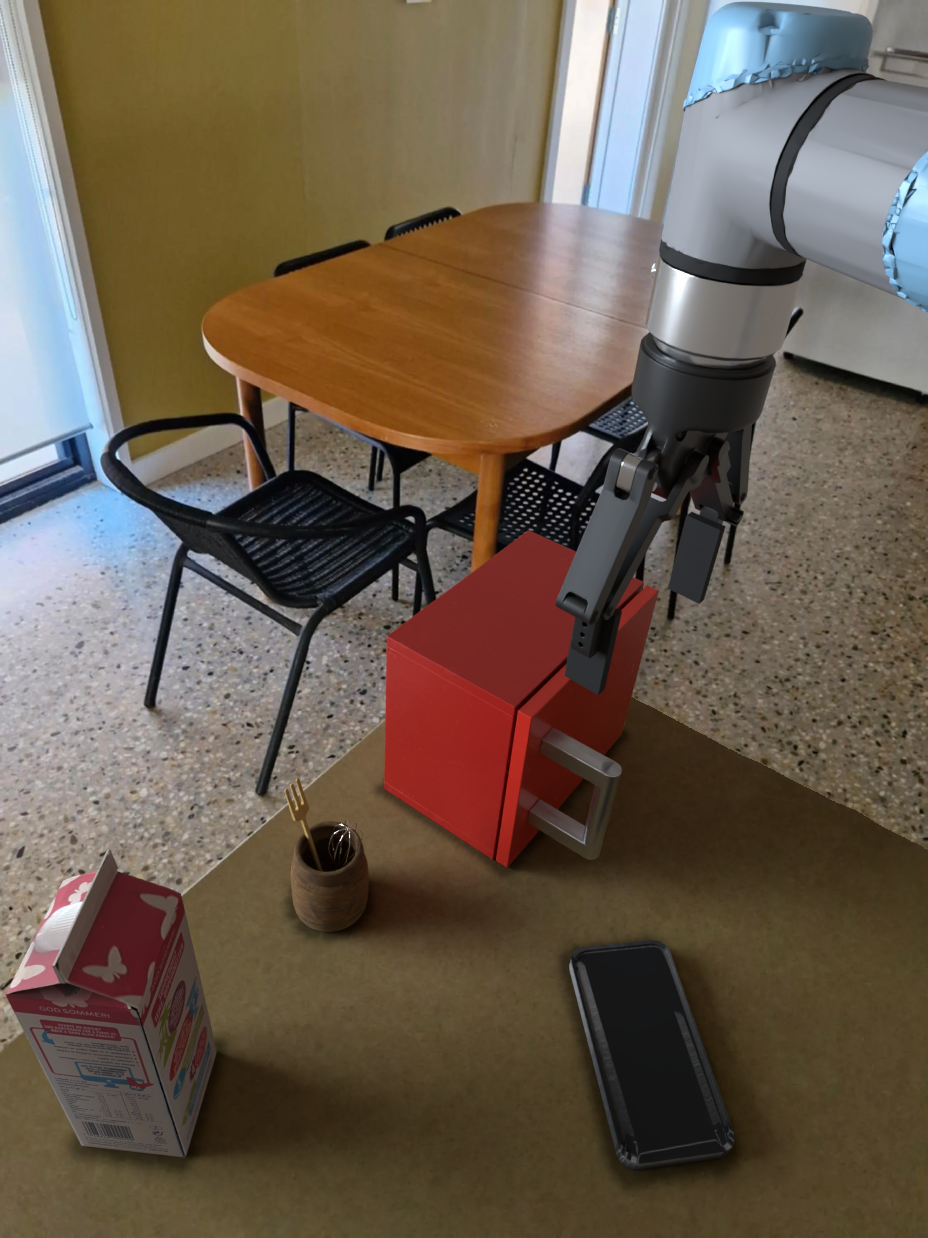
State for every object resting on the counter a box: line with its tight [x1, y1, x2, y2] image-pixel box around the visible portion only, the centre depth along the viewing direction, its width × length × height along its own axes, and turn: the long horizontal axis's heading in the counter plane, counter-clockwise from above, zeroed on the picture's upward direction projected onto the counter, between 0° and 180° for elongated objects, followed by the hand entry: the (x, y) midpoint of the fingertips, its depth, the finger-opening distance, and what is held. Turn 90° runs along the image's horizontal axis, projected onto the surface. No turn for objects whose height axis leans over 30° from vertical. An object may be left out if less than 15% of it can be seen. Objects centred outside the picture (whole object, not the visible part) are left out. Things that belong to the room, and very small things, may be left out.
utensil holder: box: [284, 777, 370, 933], centre depth 67 cm, size 6×6×12 cm
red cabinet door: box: [495, 584, 660, 869], centre depth 74 cm, size 8×20×18 cm, turn 143°
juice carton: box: [5, 848, 218, 1158], centre depth 51 cm, size 7×7×22 cm
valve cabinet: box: [383, 529, 645, 860], centre depth 78 cm, size 12×20×18 cm, turn 143°
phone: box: [568, 939, 735, 1171], centre depth 62 cm, size 8×1×15 cm
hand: (638, 635), depth 62 cm, fingers open, 13 cm apart
